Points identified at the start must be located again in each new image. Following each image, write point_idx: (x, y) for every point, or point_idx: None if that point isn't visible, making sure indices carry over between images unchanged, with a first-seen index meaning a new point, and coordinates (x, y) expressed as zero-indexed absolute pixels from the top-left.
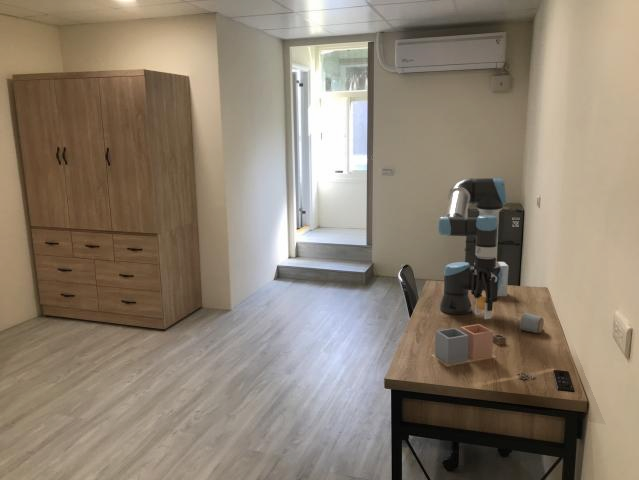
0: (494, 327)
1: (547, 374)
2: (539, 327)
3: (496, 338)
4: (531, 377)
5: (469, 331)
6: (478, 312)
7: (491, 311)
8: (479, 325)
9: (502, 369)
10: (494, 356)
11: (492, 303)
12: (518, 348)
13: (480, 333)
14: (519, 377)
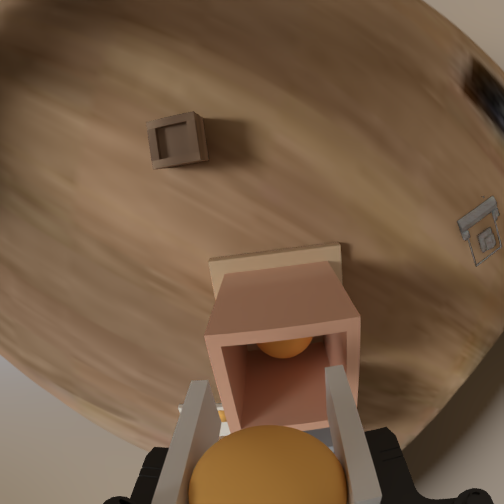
0: (24, 86)
1: (484, 138)
2: None
3: (186, 162)
4: (493, 212)
5: (308, 426)
6: (213, 418)
7: (356, 409)
8: (229, 345)
9: (416, 267)
10: (331, 251)
11: (413, 489)
12: (248, 76)
13: (357, 393)
14: (483, 251)
